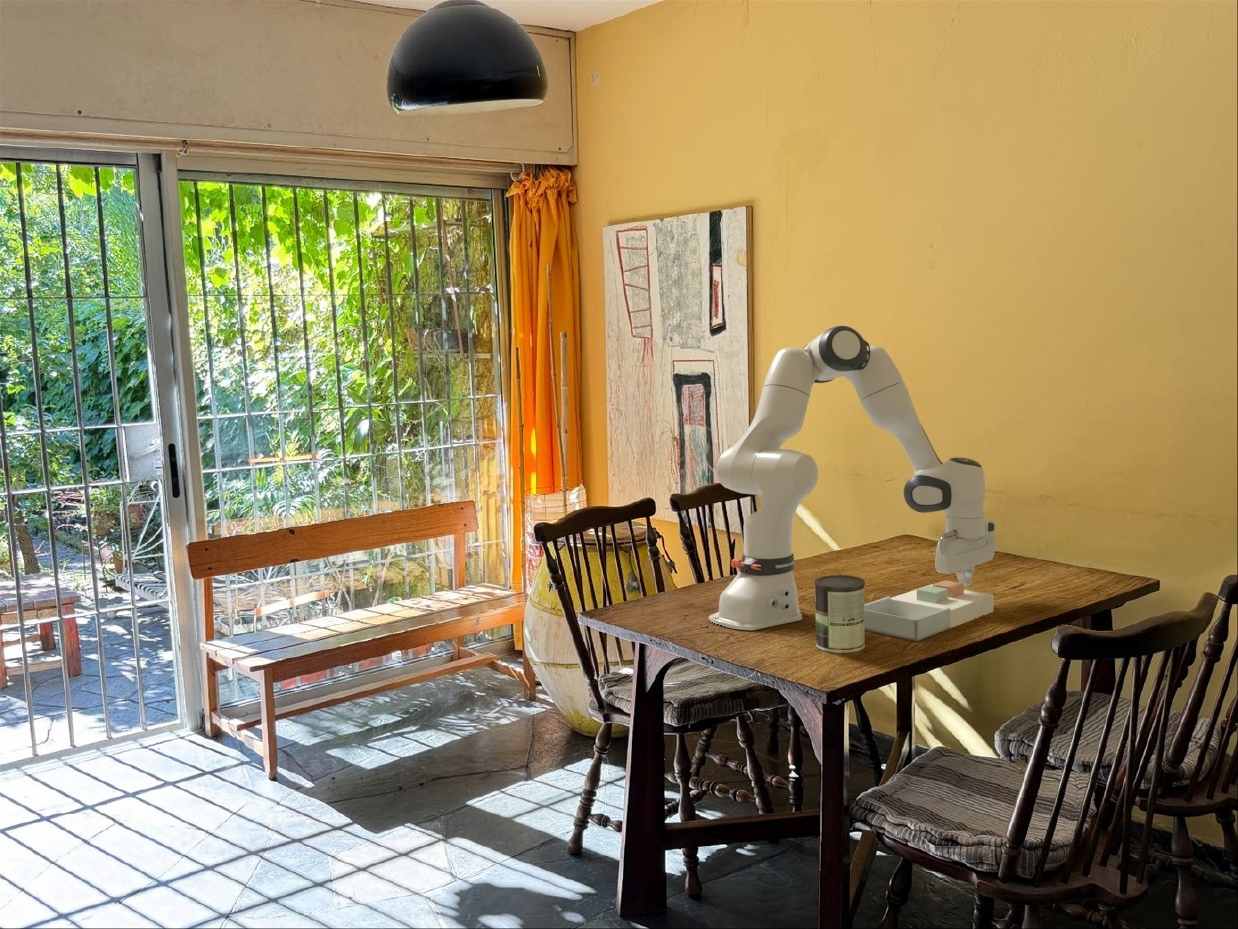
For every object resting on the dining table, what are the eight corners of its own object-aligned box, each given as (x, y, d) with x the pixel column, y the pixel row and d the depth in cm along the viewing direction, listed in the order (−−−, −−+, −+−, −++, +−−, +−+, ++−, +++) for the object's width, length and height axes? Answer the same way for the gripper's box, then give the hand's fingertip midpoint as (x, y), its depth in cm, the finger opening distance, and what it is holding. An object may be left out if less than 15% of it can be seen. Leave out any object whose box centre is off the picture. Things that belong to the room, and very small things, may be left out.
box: (916, 641, 239) (916, 620, 239) (854, 627, 251) (854, 608, 250) (950, 628, 248) (950, 608, 247) (888, 615, 260) (888, 596, 259)
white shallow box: (950, 628, 248) (950, 610, 247) (888, 615, 260) (888, 598, 259) (993, 611, 260) (993, 594, 259) (932, 600, 272) (932, 584, 271)
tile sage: (936, 603, 253) (936, 593, 253) (916, 600, 257) (916, 589, 257) (948, 599, 257) (948, 589, 256) (929, 595, 260) (929, 585, 260)
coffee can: (806, 648, 237) (805, 582, 235) (830, 636, 245) (829, 572, 243) (850, 656, 231) (849, 588, 229) (874, 643, 239) (873, 578, 237)
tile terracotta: (951, 598, 258) (951, 587, 257) (932, 594, 261) (932, 584, 261) (963, 593, 261) (963, 583, 261) (944, 590, 265) (944, 580, 264)
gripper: (952, 536, 255) (952, 596, 257) (999, 522, 268) (999, 579, 270) (928, 532, 259) (928, 591, 261) (975, 519, 273) (975, 575, 275)
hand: (964, 585), depth 266 cm, fingers closed
